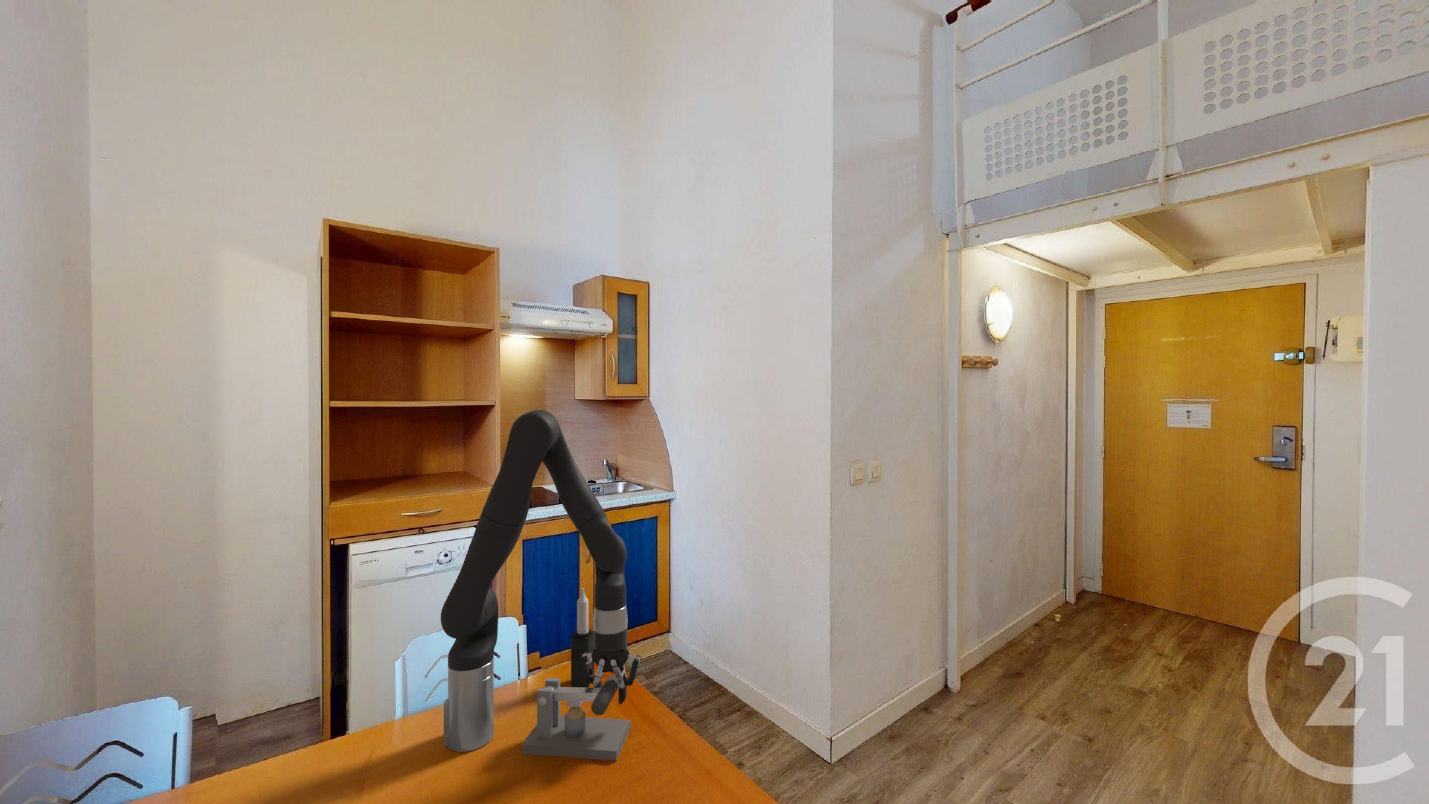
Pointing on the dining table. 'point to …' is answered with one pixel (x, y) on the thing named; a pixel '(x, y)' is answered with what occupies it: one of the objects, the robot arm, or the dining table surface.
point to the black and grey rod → (581, 643)
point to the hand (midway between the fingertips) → (610, 701)
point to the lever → (588, 695)
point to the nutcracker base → (584, 745)
